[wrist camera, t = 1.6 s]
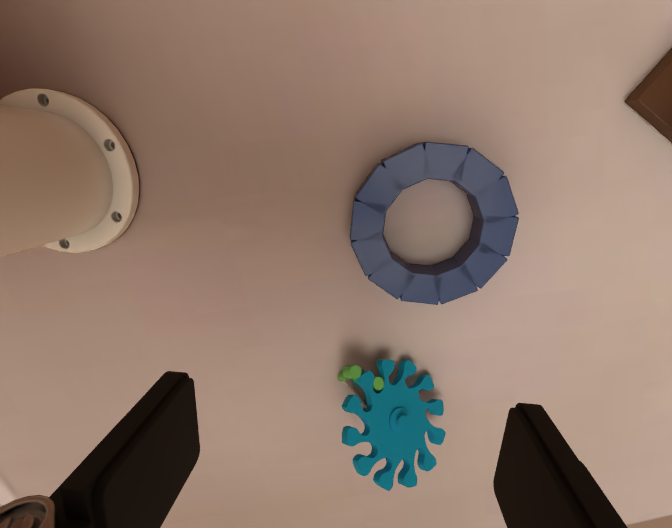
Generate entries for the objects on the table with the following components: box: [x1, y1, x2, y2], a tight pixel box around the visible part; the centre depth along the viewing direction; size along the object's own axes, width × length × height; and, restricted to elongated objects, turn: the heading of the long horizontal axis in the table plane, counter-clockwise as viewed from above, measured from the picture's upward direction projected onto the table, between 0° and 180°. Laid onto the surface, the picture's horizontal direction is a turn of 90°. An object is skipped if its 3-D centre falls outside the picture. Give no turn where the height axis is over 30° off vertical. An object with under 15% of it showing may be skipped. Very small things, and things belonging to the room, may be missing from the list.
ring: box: [350, 142, 519, 305], centre depth 27 cm, size 12×12×2 cm
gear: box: [338, 360, 446, 491], centre depth 31 cm, size 11×6×10 cm
